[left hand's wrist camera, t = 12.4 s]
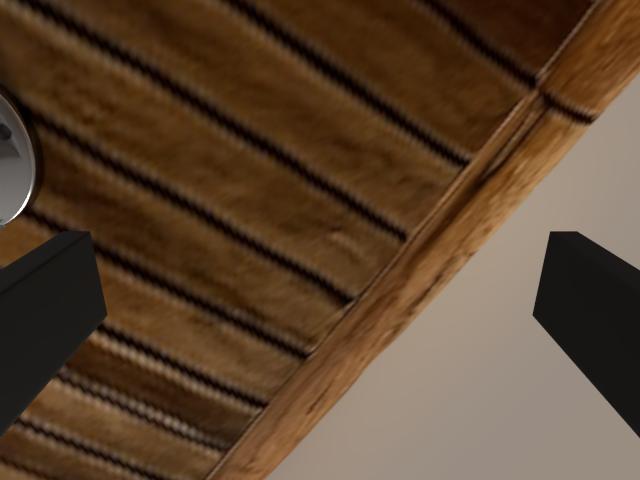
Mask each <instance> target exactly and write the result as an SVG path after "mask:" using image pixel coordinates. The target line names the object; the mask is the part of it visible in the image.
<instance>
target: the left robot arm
mask: <svg viewBox="0 0 640 480" xmlns="http://www.w3.org/2000/svg"><path fill="white" fill-rule="evenodd" d="M42 179H43V156H42V150H41V146H40V142H39V139H38V136H37V134H36V131H35V129H34V127H33V125H32V123H31V121H30V119H29V118H28V116H27V114H26V113H25V111H24V110H23V108H22V107H21V106H20V105H19V103H18V102H17V101H16V100H15V98H14V97H13V96H12V95H11V94H10V93H9V92H8V91H7V90H6V89H5V88H4V87H3V86H1V85H0V229H2V228H4V227H6V226H4V225H5V224H7V223H9V222H11V221H13V220H15V219H17V218H18V217H20V216H21V215H22V214H24V213H25V212H26V211H27V210H28V209H29V208H30V206H31V205H32V204H33V202H34V201H35V199H36V197H37V195H38V193H39V191H40V188H41V184H42ZM106 316H107V310H106V306H105V301H104V296H103V292H102V287H101V282H100V277H99V273H98V268H97V263H96V258H95V254H94V249H93V244H92V240H91V235H90V231H63V232H61V233H60V234H58V235H56V236H55V237H53V238H52V239H50V240H48V241H47V242H45V243H44V244H42V245H40V246H39V247H37V248H36V249H34V250H32V251H31V252H29V253H27V254H26V255H24V256H23V257H21V258H19V259H18V260H16V261H15V262H13V263H11V264H10V265H8V266H6V267H5V268H3V269H2V270H0V438H1V436H2V435H3V434H4V433H5V432H6V431H7V430H8V428H9V427H10V426H11V425H12V424H13V423H14V422H15V420H16V419H17V418H18V417H19V416H20V415H21V414H22V412H23V411H24V410H25V409H26V408H27V407H28V406H29V404H30V403H31V402H32V401H33V400H34V399H35V398H36V396H37V395H38V394H39V393H40V392H41V391H42V390H43V388H44V387H45V386H46V385H47V384H48V383H49V382H50V380H51V379H52V378H53V377H54V376H55V375H56V374H57V372H58V371H59V370H60V369H61V368H62V367H63V366H64V364H65V363H66V362H67V361H68V360H69V359H70V358H71V356H72V355H73V354H74V353H75V352H76V351H77V350H78V348H79V347H80V346H81V345H82V344H83V343H84V342H85V340H86V339H87V338H88V337H89V336H90V335H91V334H92V332H93V331H94V330H95V329H96V328H97V327H98V326H99V324H100V323H101V322H102V321H103V320H104V319H105V317H106ZM533 316H534V317H535V319H536V320H537V321H538V322H539V323H540V324H541V326H542V327H543V328H544V329H545V330H546V331H547V332H548V334H549V335H550V336H551V337H552V338H553V339H554V340H555V342H556V343H557V344H558V345H559V346H560V347H561V348H562V350H563V351H564V352H565V353H566V354H567V355H568V356H569V358H570V359H571V360H572V361H573V362H574V363H575V364H576V366H577V367H578V368H579V369H580V370H581V371H582V372H583V374H584V375H585V376H586V377H587V378H588V379H589V380H590V382H591V383H592V384H593V385H594V386H595V387H596V388H597V390H598V391H599V392H600V393H601V394H602V395H603V396H604V398H605V399H606V400H607V401H608V402H609V403H610V404H611V406H612V407H613V408H614V409H615V410H616V411H617V412H618V414H619V415H620V416H621V417H622V418H623V419H624V420H625V422H626V423H627V424H628V425H629V426H630V427H631V428H632V430H633V431H634V432H635V433H636V434H637V435H638V436H639V438H640V270H638V269H637V268H635V267H633V266H632V265H630V264H629V263H627V262H625V261H624V260H622V259H621V258H619V257H617V256H616V255H614V254H612V253H611V252H609V251H608V250H606V249H604V248H603V247H601V246H600V245H598V244H596V243H595V242H593V241H592V240H590V239H588V238H587V237H585V236H584V235H582V234H580V233H579V232H577V231H576V232H575V231H568V232H566V231H562V232H561V231H557V232H556V231H555V232H550V235H549V240H548V244H547V249H546V254H545V258H544V263H543V268H542V273H541V277H540V282H539V287H538V291H537V296H536V301H535V306H534V311H533Z"/></svg>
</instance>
